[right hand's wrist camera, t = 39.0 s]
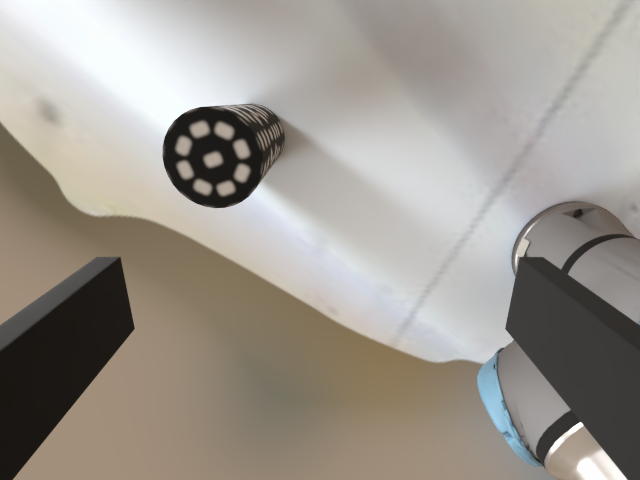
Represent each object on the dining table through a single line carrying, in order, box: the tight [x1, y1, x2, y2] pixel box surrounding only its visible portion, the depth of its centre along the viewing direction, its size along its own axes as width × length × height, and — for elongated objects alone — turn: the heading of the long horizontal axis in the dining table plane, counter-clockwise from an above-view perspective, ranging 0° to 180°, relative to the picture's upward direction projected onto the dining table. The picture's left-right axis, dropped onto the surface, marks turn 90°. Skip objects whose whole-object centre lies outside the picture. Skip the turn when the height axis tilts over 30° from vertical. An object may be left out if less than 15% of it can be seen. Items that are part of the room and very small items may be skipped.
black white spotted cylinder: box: [163, 104, 284, 208], centre depth 41 cm, size 8×8×20 cm
